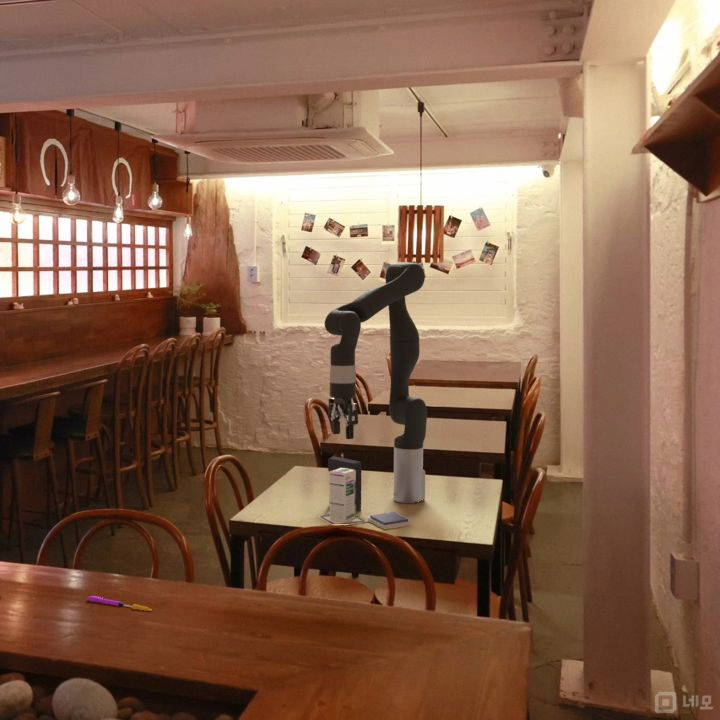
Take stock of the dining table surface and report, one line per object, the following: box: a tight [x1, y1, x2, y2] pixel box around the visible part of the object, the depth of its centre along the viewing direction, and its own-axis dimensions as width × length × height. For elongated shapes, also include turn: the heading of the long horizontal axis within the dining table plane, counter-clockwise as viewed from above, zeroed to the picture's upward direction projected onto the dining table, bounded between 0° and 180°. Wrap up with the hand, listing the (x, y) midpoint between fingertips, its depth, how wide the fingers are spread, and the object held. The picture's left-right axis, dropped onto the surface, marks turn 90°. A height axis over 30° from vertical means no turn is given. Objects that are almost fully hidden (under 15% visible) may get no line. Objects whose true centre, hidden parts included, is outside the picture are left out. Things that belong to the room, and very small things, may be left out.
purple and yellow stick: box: [86, 595, 153, 612], centre depth 167 cm, size 3×1×16 cm
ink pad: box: [367, 511, 412, 530], centre depth 226 cm, size 9×9×2 cm
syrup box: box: [328, 468, 357, 522], centre depth 229 cm, size 6×6×14 cm
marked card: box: [318, 514, 368, 525], centre depth 229 cm, size 11×11×1 cm
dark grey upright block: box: [327, 456, 362, 512], centre depth 241 cm, size 11×4×15 cm, turn 47°
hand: (342, 436), depth 227 cm, fingers open, 8 cm apart
